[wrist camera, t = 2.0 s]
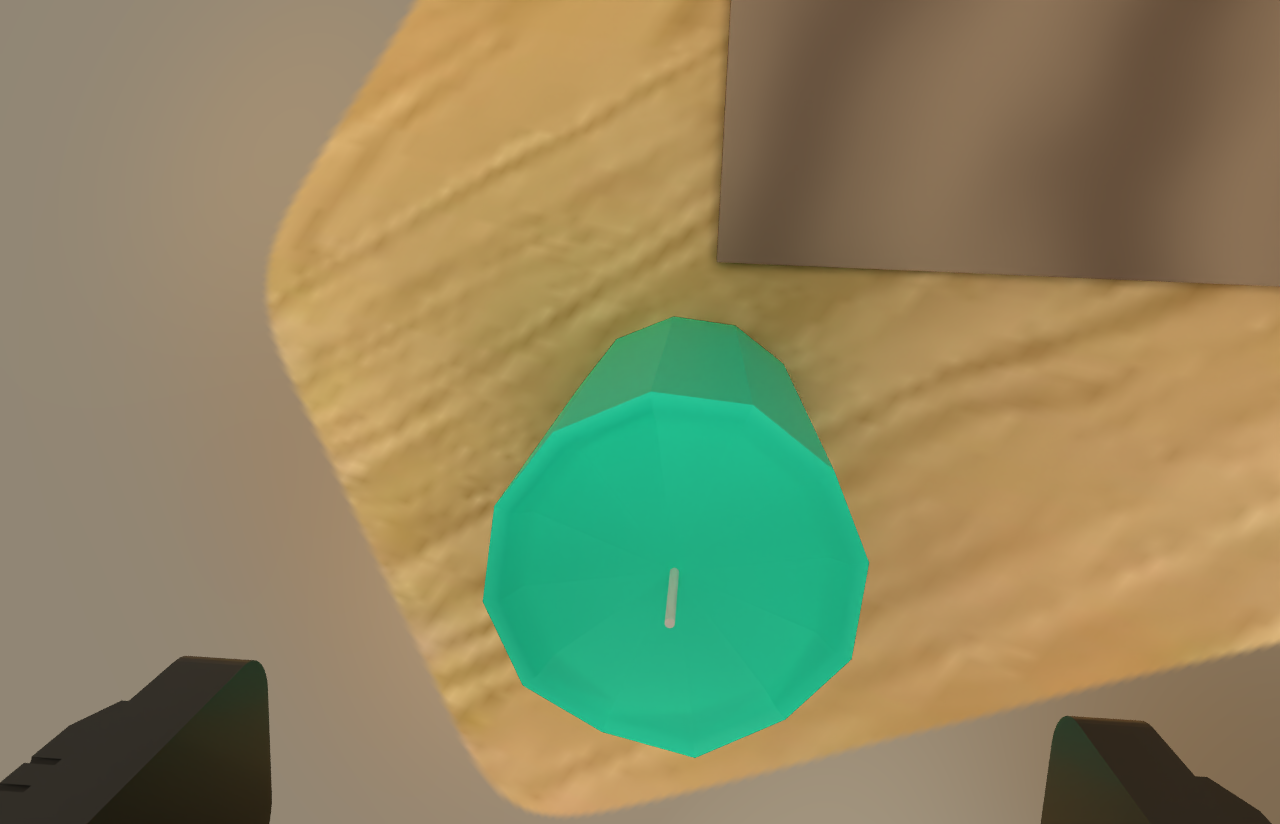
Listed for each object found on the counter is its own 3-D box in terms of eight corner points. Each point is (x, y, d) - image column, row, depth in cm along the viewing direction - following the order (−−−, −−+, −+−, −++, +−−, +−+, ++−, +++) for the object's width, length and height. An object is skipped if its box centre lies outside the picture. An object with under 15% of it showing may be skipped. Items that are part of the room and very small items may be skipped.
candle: (524, 407, 26) (371, 576, 14) (712, 267, 25) (716, 323, 13) (663, 586, 27) (628, 888, 15) (852, 457, 26) (974, 671, 14)
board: (1650, -70, 22) (1694, -83, 21) (1567, 296, 24) (1604, 300, 23) (735, -91, 23) (736, -104, 22) (716, 259, 25) (717, 261, 24)
